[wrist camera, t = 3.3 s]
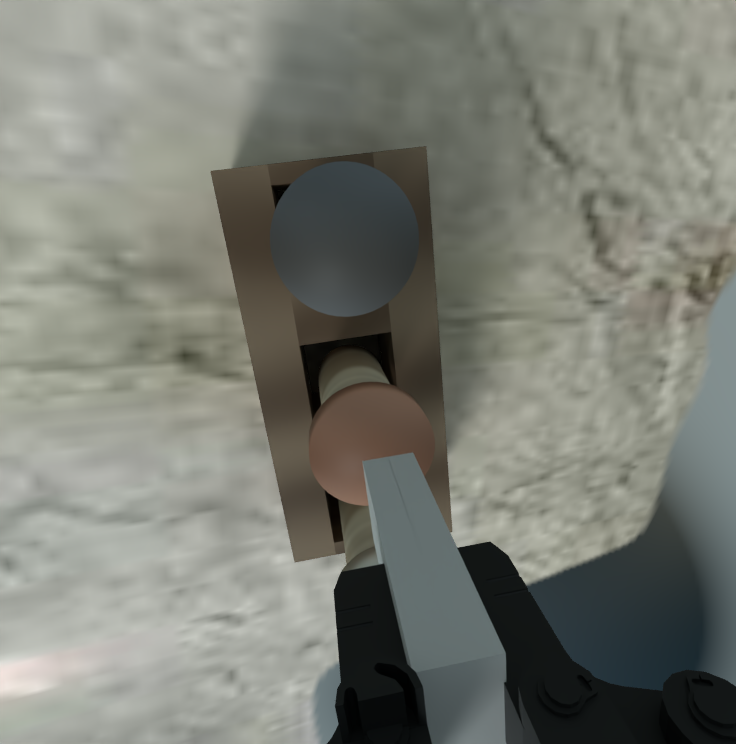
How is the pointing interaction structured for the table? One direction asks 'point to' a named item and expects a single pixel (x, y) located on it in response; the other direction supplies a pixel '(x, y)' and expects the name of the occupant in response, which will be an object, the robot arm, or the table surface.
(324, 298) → the plug charcoal
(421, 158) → the socket block
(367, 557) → the plug cream
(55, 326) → the table surface
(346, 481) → the plug terracotta
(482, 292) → the table surface
